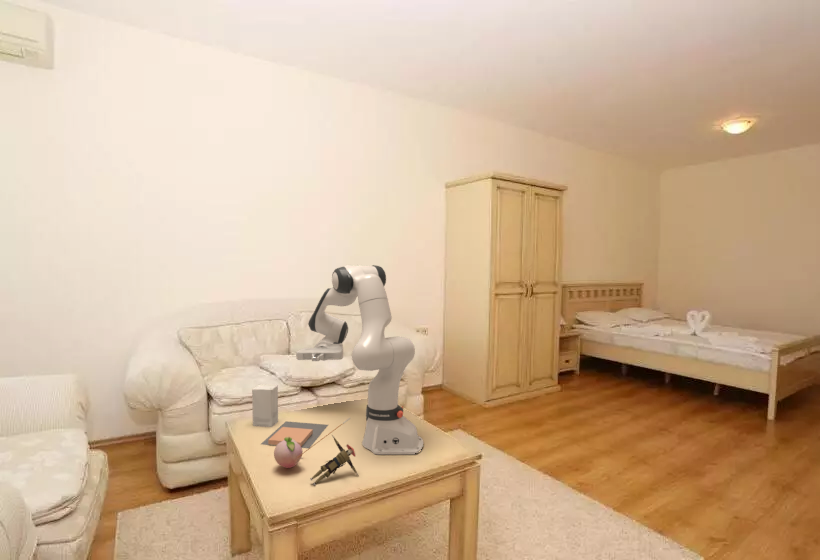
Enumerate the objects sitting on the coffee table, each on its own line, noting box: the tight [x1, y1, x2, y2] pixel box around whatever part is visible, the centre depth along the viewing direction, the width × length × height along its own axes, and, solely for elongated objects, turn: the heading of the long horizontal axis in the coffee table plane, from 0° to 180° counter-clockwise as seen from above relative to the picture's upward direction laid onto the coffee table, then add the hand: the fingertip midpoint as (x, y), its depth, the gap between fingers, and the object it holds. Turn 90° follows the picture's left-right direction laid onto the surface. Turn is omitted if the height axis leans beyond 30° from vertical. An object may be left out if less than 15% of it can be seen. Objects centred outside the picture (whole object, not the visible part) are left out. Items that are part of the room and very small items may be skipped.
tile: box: [268, 427, 313, 447], centre depth 154 cm, size 12×2×12 cm
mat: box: [260, 421, 329, 449], centre depth 160 cm, size 18×22×1 cm
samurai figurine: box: [297, 417, 359, 486], centre depth 131 cm, size 16×10×20 cm
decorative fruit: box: [273, 437, 304, 469], centre depth 134 cm, size 9×8×10 cm
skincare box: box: [251, 384, 279, 428], centre depth 168 cm, size 8×7×16 cm
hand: (315, 359), depth 176 cm, fingers closed
